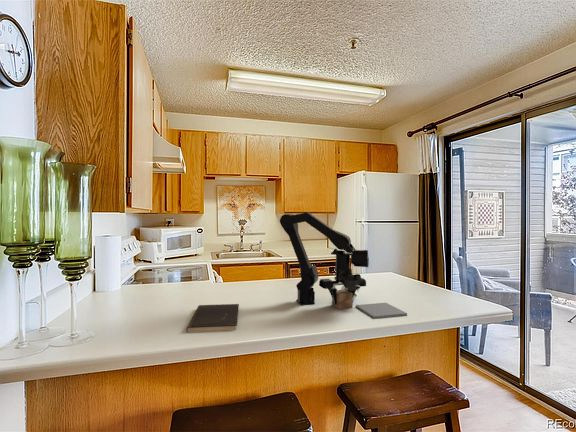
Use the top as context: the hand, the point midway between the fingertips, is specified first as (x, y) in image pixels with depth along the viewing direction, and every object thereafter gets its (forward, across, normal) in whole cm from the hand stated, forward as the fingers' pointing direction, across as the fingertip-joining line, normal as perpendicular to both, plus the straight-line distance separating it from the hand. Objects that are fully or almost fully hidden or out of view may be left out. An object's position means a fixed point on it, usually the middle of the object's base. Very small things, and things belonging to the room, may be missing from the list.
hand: (342, 303), depth 126 cm
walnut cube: (+1, 0, 0) cm, 1 cm away
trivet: (+1, +12, -9) cm, 15 cm away
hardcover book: (+2, -51, -2) cm, 51 cm away
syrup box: (-3, +12, +16) cm, 20 cm away
